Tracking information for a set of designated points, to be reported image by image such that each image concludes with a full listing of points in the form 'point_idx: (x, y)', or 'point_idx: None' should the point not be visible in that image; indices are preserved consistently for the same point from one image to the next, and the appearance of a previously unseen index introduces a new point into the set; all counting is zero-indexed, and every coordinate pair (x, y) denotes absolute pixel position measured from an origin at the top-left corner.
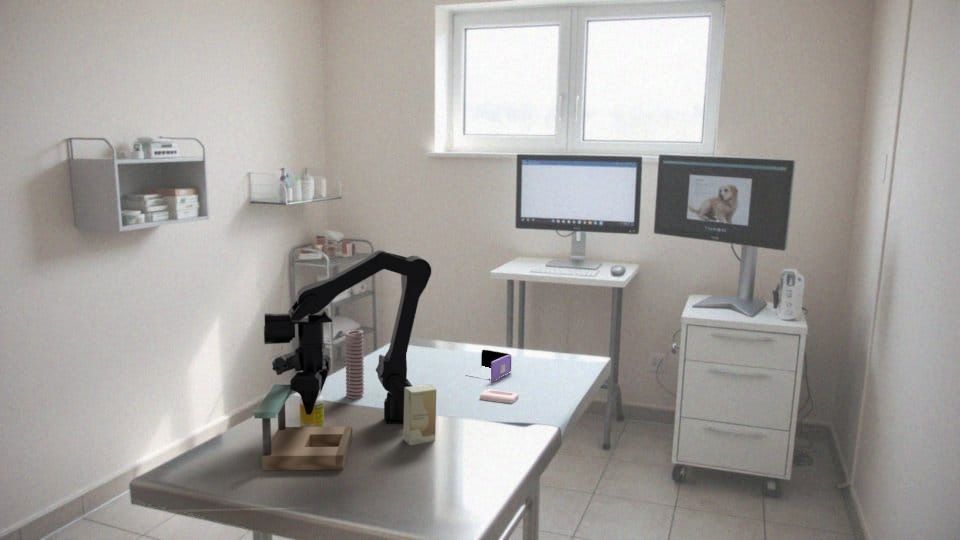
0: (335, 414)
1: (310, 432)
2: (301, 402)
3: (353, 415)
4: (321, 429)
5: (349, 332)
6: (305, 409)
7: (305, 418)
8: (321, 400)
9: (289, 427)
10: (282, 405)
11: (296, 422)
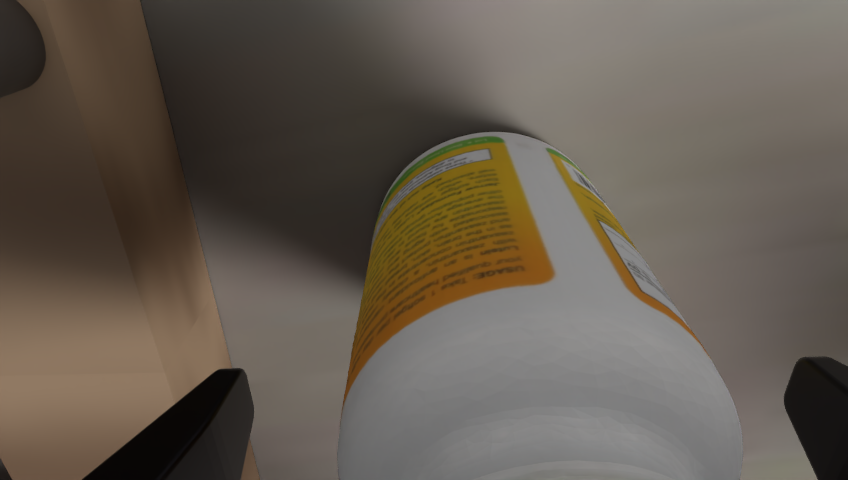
0: (825, 356)
1: (2, 372)
2: (397, 356)
3: (756, 467)
4: (116, 440)
5: None
6: (160, 422)
7: (371, 270)
8: None
9: (70, 132)
10: None
11: (687, 40)
